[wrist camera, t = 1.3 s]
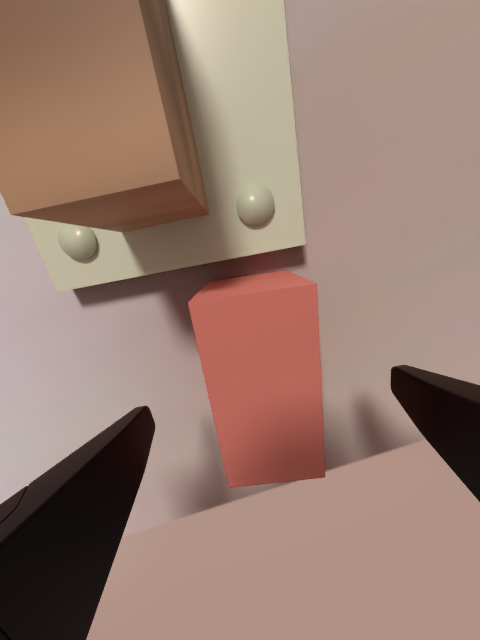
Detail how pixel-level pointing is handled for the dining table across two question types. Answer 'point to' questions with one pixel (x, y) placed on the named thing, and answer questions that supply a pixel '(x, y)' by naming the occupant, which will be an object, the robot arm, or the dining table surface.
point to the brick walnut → (95, 115)
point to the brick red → (263, 375)
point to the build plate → (209, 155)
